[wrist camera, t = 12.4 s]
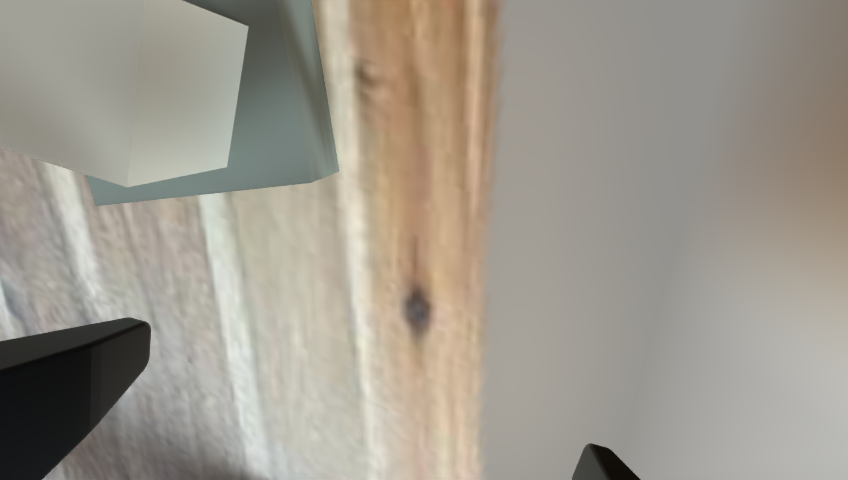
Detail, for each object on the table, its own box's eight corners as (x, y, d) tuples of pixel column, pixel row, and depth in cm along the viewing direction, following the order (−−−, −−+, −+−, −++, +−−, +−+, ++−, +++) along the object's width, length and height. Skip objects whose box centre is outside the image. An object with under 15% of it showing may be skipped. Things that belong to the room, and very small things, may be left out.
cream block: (248, 26, 15) (145, -15, 11) (226, 167, 17) (127, 187, 12) (112, -14, 16) (-50, -72, 11) (102, 128, 17) (-46, 133, 12)
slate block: (341, 170, 20) (310, 182, 17) (163, 189, 22) (95, 206, 18) (304, -53, 18) (258, -98, 14) (107, -16, 19) (17, -48, 16)
